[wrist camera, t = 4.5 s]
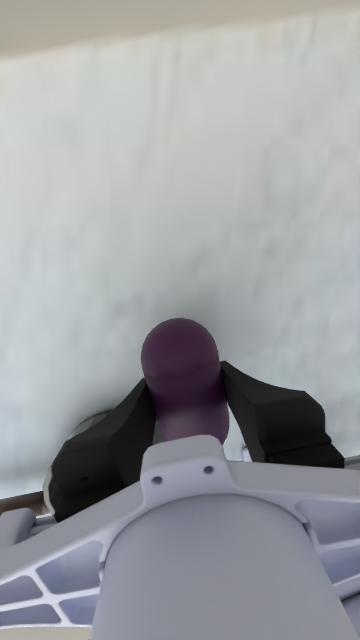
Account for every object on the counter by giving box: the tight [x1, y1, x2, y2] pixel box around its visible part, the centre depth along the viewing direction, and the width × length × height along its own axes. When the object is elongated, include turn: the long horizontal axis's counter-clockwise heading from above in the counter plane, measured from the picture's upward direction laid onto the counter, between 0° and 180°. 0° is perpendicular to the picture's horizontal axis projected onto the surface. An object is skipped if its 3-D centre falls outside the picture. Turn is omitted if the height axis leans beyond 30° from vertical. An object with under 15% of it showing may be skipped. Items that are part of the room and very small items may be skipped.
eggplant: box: [141, 318, 229, 445], centre depth 14 cm, size 12×5×5 cm, turn 12°
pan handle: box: [0, 491, 50, 516], centre depth 19 cm, size 10×2×2 cm, turn 102°
